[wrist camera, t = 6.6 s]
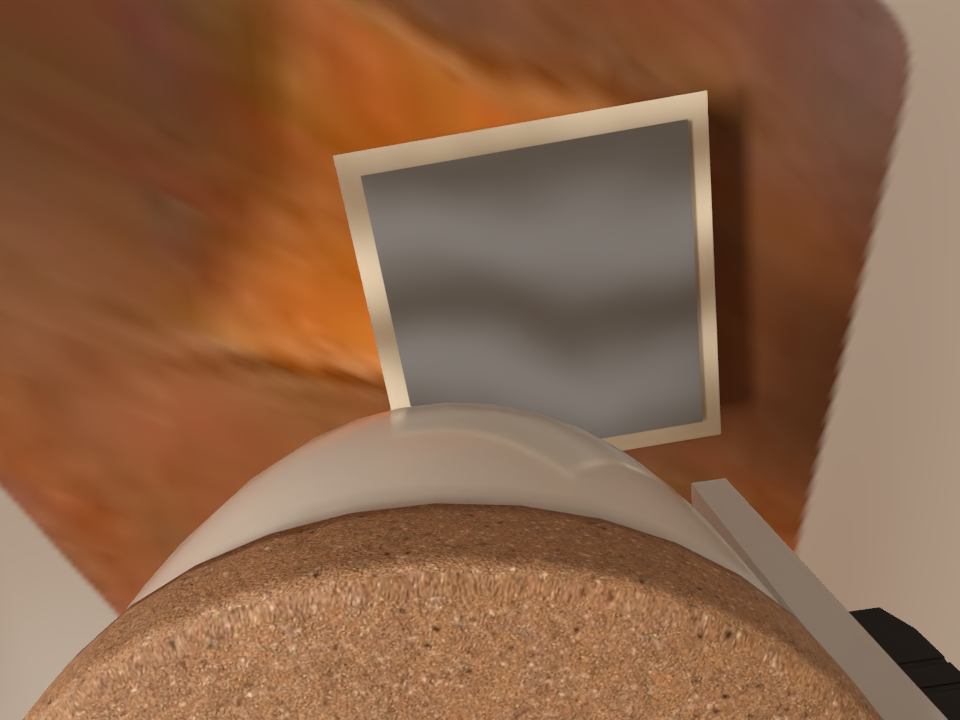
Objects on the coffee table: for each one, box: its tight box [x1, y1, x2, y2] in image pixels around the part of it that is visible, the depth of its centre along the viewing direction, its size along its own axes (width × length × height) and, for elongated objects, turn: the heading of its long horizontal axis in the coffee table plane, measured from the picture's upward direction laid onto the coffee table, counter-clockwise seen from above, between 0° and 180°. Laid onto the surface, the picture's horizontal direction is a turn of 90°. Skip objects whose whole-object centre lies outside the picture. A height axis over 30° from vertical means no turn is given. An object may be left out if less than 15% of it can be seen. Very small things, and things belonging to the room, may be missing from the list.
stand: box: [333, 91, 721, 451], centre depth 27 cm, size 16×16×3 cm
